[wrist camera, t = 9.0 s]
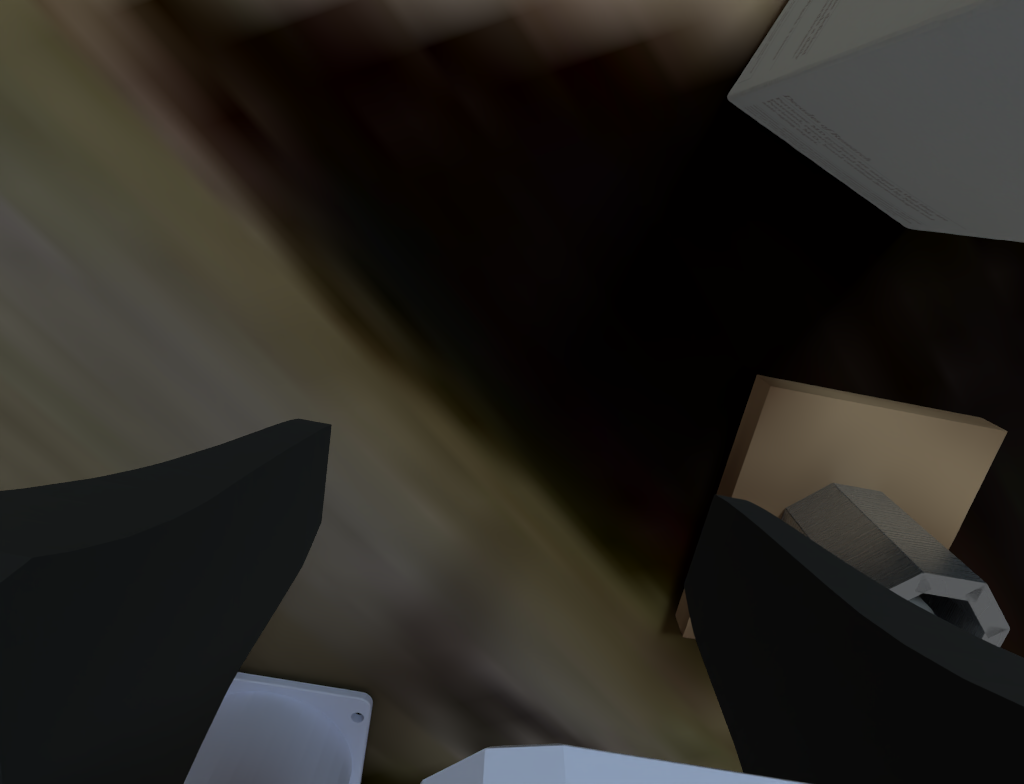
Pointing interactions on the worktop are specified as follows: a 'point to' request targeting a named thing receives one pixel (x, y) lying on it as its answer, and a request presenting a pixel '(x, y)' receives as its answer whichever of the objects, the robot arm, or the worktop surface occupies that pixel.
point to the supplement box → (903, 105)
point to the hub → (898, 555)
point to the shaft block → (856, 456)
